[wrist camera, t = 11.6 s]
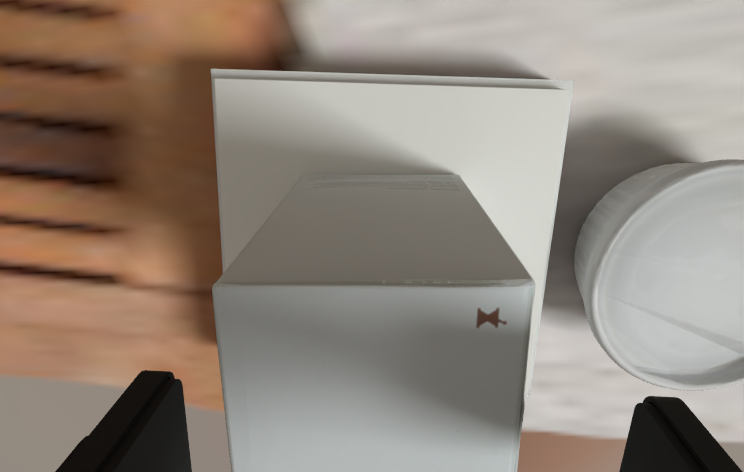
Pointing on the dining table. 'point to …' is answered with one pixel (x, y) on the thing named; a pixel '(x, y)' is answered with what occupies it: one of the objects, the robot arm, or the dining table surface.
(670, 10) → the dining table surface
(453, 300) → the supplement box
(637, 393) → the dining table surface
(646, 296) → the ramekin
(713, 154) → the dining table surface
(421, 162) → the stand
